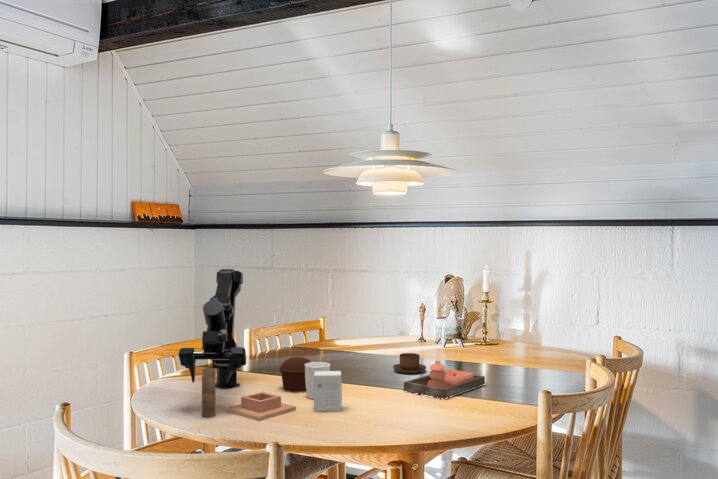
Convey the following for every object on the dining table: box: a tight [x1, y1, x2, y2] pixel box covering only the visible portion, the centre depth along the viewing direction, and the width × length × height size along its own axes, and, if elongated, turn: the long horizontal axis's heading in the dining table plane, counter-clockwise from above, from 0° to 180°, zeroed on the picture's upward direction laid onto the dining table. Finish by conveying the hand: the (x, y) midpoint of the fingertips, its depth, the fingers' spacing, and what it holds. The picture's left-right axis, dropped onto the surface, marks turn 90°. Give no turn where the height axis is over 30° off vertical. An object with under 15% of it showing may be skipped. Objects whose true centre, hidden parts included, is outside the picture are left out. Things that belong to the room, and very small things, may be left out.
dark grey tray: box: [403, 369, 486, 400], centre depth 217 cm, size 15×24×3 cm, turn 139°
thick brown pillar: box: [201, 367, 216, 419], centre depth 184 cm, size 4×4×13 cm
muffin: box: [278, 356, 312, 393], centre depth 216 cm, size 12×11×10 cm
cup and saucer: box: [392, 352, 427, 374], centre depth 242 cm, size 12×12×6 cm
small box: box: [313, 370, 343, 412], centre depth 192 cm, size 8×6×10 cm
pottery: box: [427, 360, 475, 389], centre depth 218 cm, size 18×10×10 cm, turn 139°
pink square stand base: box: [225, 391, 297, 421], centre depth 190 cm, size 14×14×4 cm
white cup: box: [305, 361, 331, 400], centre depth 206 cm, size 8×8×10 cm
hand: (209, 381), depth 186 cm, fingers open, 9 cm apart
